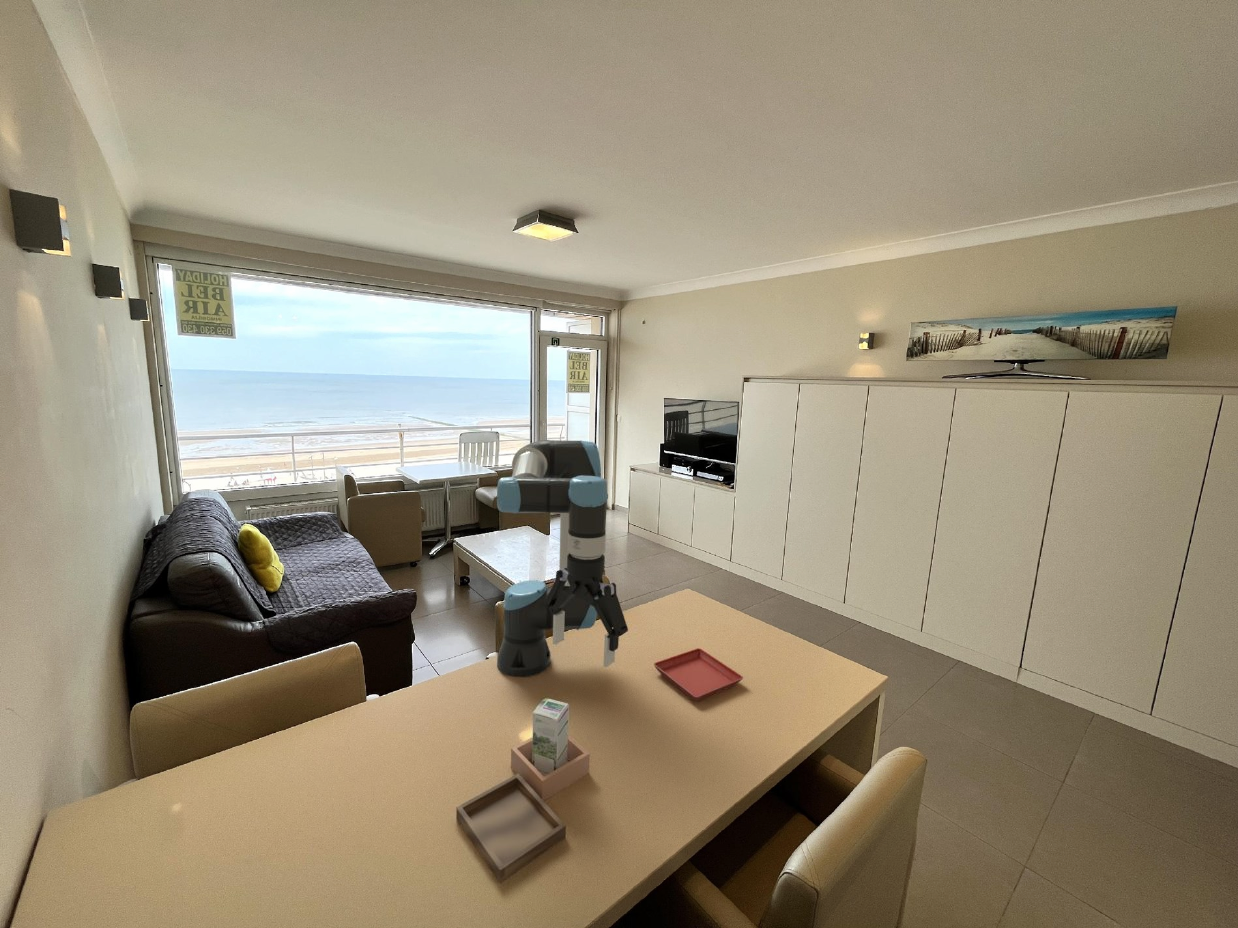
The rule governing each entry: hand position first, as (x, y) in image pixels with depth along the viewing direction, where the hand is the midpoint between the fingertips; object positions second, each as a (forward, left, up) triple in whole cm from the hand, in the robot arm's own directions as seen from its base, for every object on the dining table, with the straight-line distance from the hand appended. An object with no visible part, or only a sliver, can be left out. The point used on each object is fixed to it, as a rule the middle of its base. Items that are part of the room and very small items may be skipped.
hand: (582, 652), depth 105 cm
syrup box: (-2, -6, -25) cm, 26 cm away
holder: (-2, -6, -25) cm, 26 cm away
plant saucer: (-4, +45, -26) cm, 52 cm away
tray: (+5, -20, -25) cm, 32 cm away
